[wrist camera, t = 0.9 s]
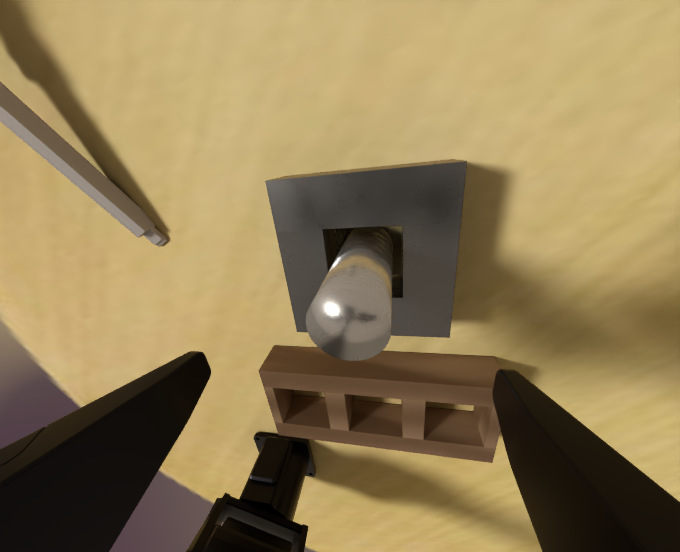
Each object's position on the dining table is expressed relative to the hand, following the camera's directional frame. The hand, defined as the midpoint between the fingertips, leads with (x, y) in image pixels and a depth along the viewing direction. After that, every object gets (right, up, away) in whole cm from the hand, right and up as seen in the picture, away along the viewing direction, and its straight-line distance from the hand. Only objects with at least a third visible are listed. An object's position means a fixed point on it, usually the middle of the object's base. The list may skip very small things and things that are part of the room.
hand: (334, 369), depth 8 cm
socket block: (+2, +5, +10) cm, 11 cm away
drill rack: (+3, -7, +15) cm, 17 cm away
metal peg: (+2, +5, +10) cm, 11 cm away
